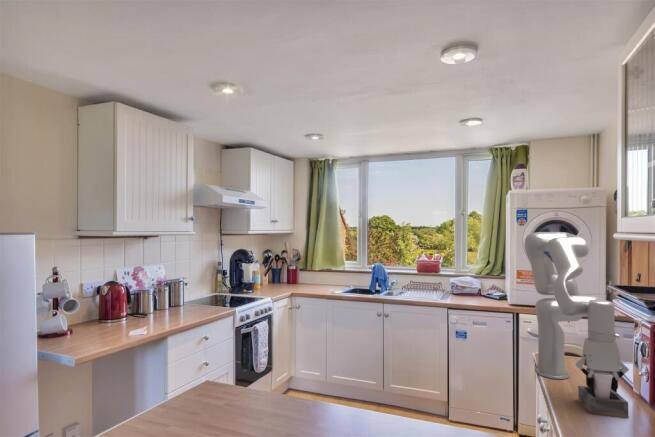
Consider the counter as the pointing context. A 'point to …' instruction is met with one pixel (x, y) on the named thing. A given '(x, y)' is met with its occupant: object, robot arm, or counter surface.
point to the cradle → (603, 403)
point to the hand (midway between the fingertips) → (601, 388)
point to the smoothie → (602, 384)
